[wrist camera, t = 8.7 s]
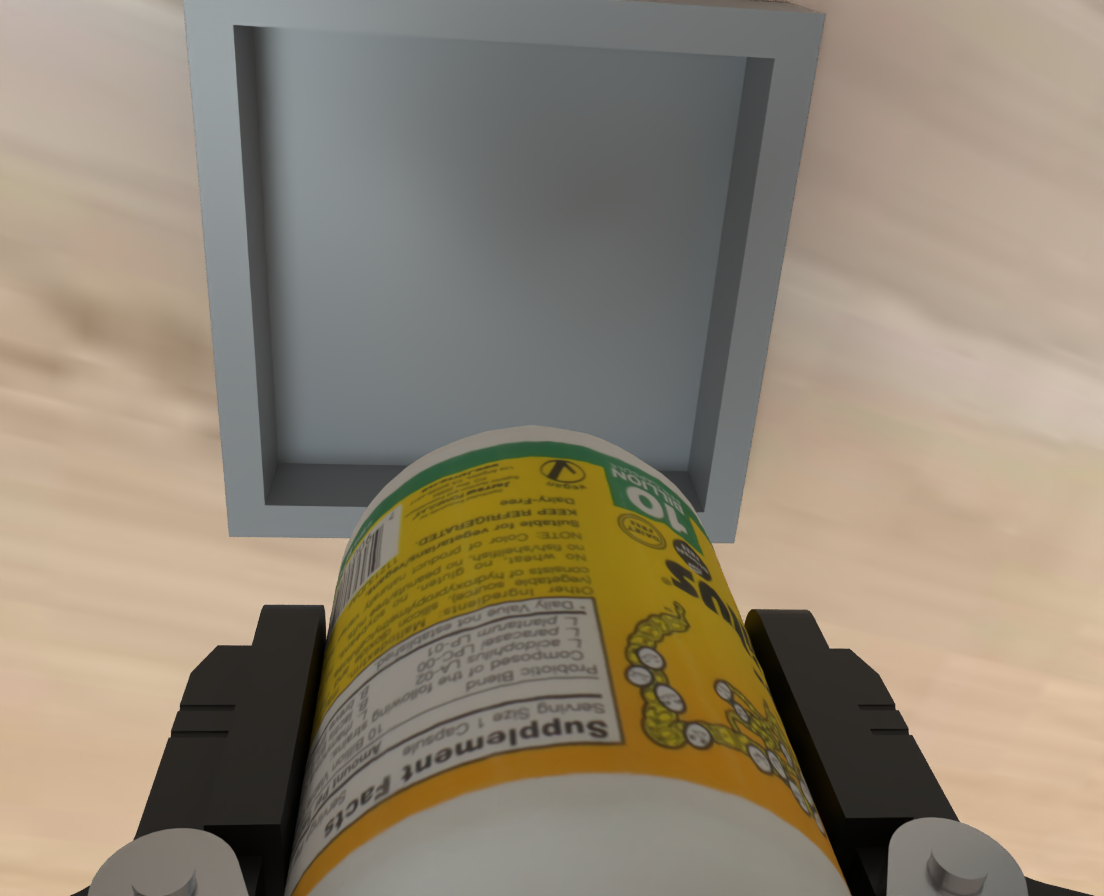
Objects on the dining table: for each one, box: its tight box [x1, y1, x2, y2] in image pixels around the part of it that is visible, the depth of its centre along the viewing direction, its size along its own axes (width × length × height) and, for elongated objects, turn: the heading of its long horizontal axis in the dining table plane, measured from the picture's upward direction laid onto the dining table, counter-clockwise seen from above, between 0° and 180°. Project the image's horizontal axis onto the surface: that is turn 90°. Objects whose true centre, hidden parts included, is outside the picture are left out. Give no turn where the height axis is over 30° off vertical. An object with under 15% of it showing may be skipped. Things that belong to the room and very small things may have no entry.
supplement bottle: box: [284, 425, 852, 896], centre depth 11 cm, size 5×5×10 cm
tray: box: [183, 0, 826, 543], centre depth 27 cm, size 14×14×3 cm
